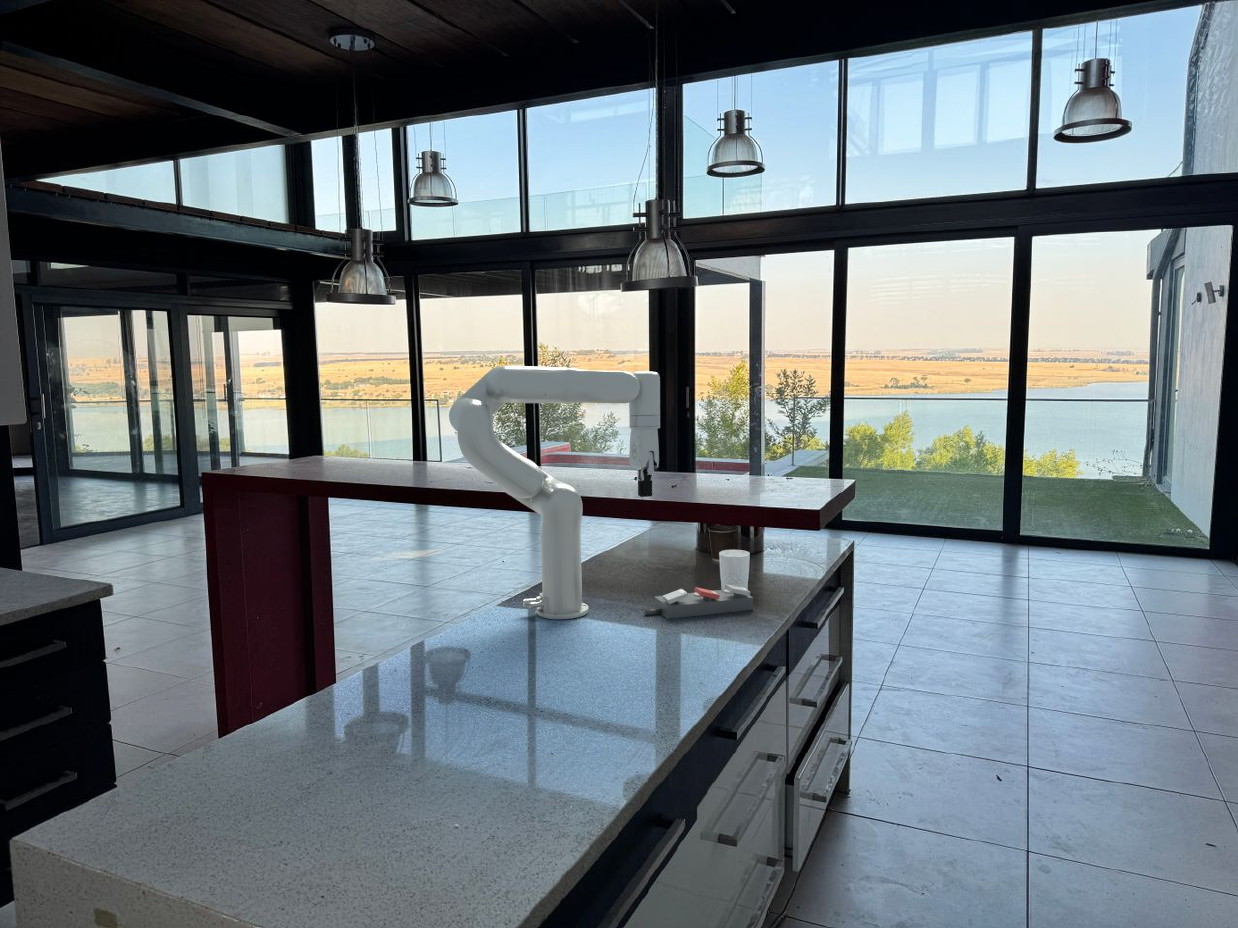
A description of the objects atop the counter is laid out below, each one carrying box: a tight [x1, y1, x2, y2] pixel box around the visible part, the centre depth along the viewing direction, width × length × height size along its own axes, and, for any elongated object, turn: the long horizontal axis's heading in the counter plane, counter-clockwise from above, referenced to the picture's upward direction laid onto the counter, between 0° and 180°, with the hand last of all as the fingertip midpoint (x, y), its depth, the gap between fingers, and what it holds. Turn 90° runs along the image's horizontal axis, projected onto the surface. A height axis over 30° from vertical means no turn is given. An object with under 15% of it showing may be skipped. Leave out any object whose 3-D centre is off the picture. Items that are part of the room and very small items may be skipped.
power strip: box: [643, 589, 754, 620], centre depth 207 cm, size 26×9×4 cm, turn 107°
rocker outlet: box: [725, 584, 751, 596], centre depth 208 cm, size 5×4×1 cm
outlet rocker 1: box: [662, 588, 689, 604], centre depth 203 cm, size 5×4×1 cm
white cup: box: [718, 549, 751, 591], centre depth 224 cm, size 8×8×10 cm
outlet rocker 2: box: [693, 586, 720, 599], centre depth 206 cm, size 5×4×1 cm
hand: (645, 496), depth 212 cm, fingers closed
